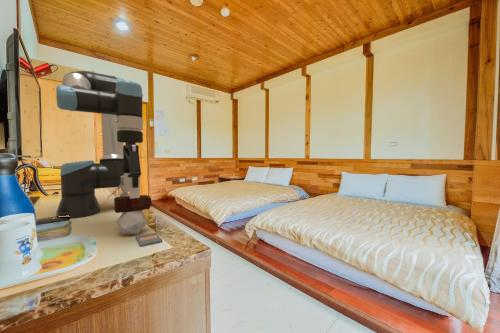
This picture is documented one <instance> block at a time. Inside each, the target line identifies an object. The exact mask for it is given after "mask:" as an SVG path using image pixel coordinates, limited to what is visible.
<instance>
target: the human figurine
mask: <svg viewBox="0 0 500 333" xmlns="http://www.w3.org/2000/svg"><path fill="white" fill-rule="evenodd" d="M118 190H121V192H122V193H120V194H119V197H122V196H130V193H128V192H124V176H121V185H119V187H116V189H115V190H113V191H112V193H111V194H110V195H108V196H107V197H106V200H109V198H110V197H111V196H113V195H115V193H116V192H117V191H118ZM123 213H124V212H121V215H122V214H123Z"/></svg>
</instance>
